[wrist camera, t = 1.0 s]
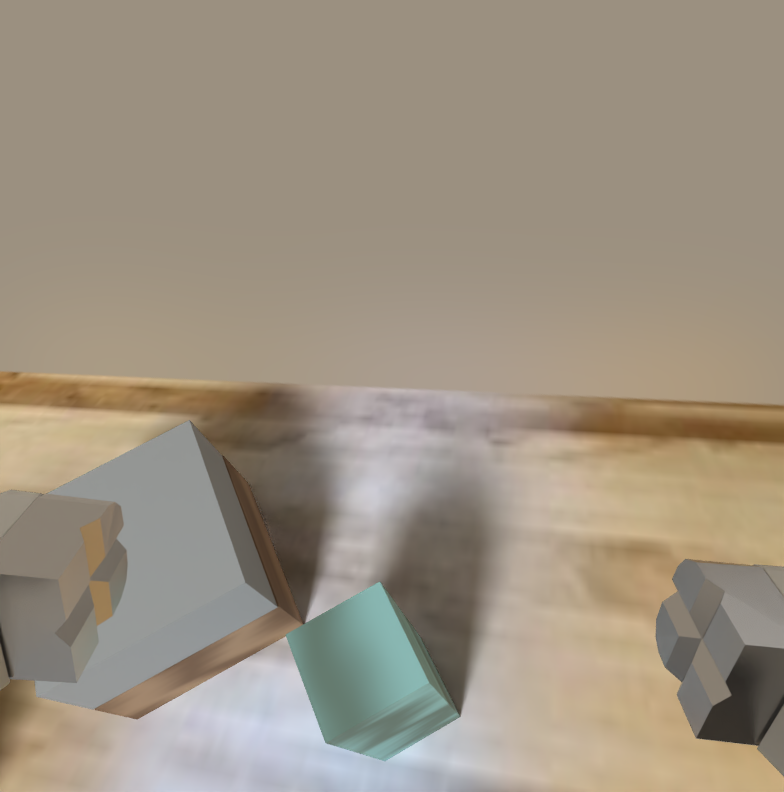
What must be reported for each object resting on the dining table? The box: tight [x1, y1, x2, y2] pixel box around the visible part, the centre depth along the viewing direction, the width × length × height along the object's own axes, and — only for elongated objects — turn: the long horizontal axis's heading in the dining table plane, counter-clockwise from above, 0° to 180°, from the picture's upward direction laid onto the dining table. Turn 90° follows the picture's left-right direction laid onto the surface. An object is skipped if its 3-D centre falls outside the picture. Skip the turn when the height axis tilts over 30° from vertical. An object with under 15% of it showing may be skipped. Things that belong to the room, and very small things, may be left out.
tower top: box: [35, 420, 278, 709], centre depth 39 cm, size 12×12×5 cm
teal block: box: [286, 582, 460, 761], centre depth 33 cm, size 5×5×12 cm
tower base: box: [95, 456, 303, 719], centre depth 43 cm, size 12×12×5 cm
